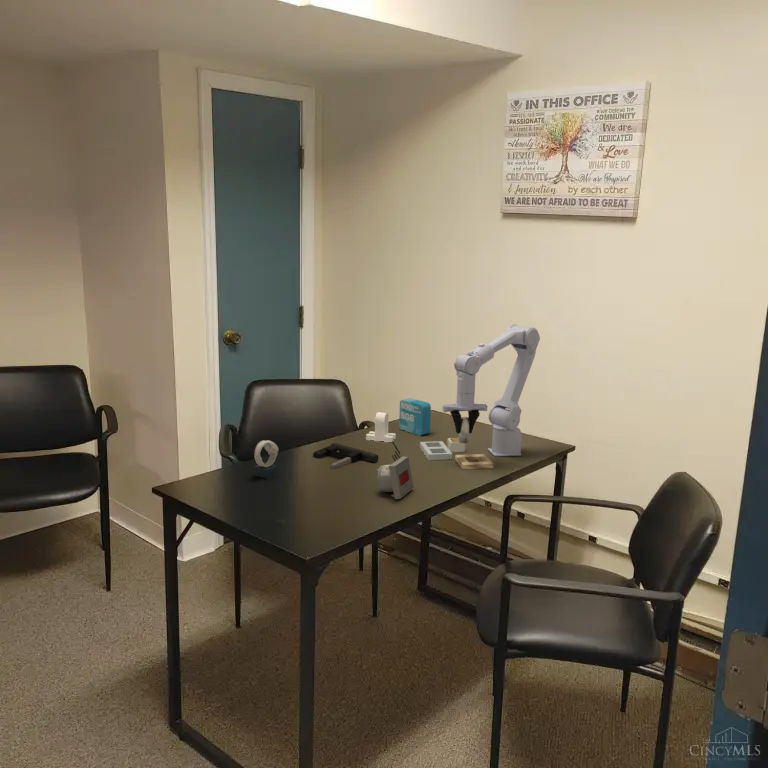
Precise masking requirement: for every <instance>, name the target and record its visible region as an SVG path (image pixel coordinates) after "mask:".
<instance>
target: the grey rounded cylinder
mask: <svg viewBox="0 0 768 768" xmlns="http://www.w3.org/2000/svg"><path fill="white" fill-rule="evenodd" d="M469 432H470V418H469V416H461V420H460V434H458V437H457V438H458V442H459V443H465V444H469V443H470V433H469Z"/></svg>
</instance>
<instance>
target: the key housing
mask: <svg viewBox="0 0 768 768" xmlns="http://www.w3.org/2000/svg"><path fill="white" fill-rule="evenodd" d="M451 438H452V437H448V438H447V442H446V443H447V445H446V447H447V448H448V449H449V450H450V451H451V453H465V452H466V443H459V442H452V441H451Z"/></svg>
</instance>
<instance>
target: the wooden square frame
mask: <svg viewBox="0 0 768 768" xmlns="http://www.w3.org/2000/svg"><path fill="white" fill-rule="evenodd" d="M454 460H455V461H456V462H458V463H457V464H458V465H459V466H460V467H461V469H462V470H482V469H494V463H493V462H492V460H490V459H489V458H488V456H486V454H485V453H481V454H480V453H478V454H477V453H475V454H474V453H473V454H455V455H454Z"/></svg>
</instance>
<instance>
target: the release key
mask: <svg viewBox="0 0 768 768" xmlns="http://www.w3.org/2000/svg"><path fill="white" fill-rule="evenodd" d="M450 438H451V441H452V442H458V437H450Z"/></svg>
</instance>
